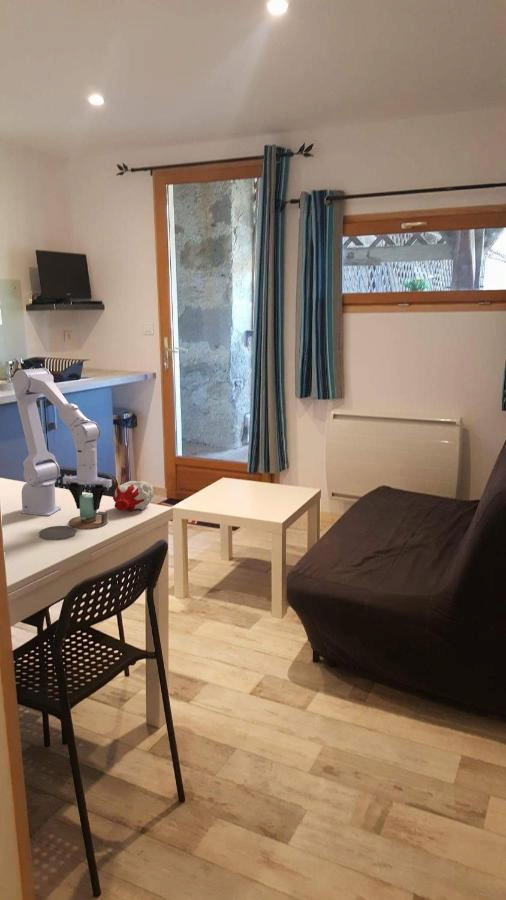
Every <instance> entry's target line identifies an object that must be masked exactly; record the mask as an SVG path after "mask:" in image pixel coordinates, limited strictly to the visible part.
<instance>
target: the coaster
mask: <svg viewBox="0 0 506 900" xmlns="http://www.w3.org/2000/svg"><path fill="white" fill-rule="evenodd" d="M76 529H77V528H73V527H71V526H70V525H53V526H49V527H45V528H42V529H41V530H40V531H39V532H38V537H40V538H41V539H44V540H48V541H51V540H52V541H59V540H66V539H69V538H72V537H74V536H75V535H76V534H77V530H76Z"/></svg>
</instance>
